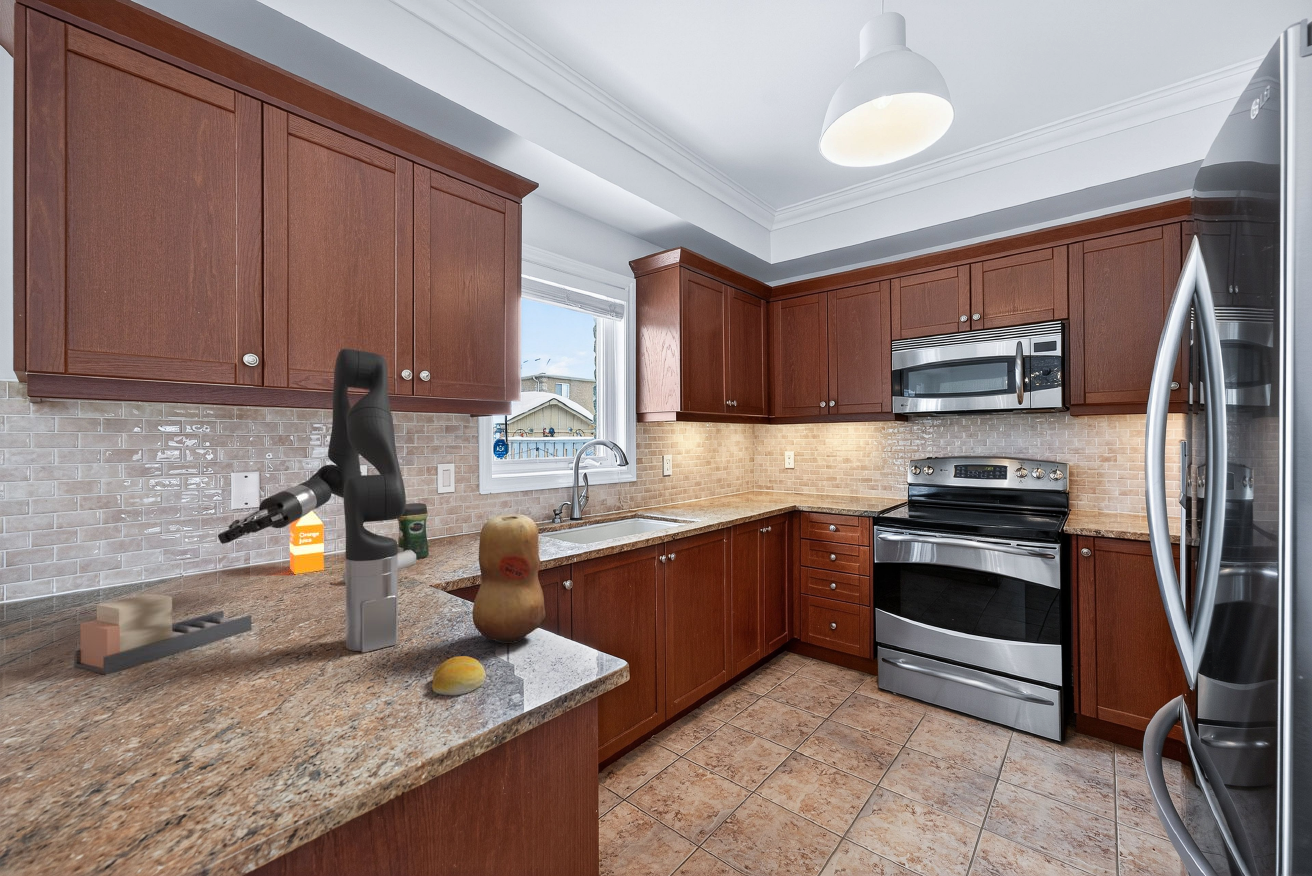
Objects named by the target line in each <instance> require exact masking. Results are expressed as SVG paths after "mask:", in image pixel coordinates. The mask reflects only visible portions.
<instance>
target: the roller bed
mask: <svg viewBox="0 0 1312 876" xmlns="http://www.w3.org/2000/svg"><path fill="white" fill-rule="evenodd" d="M252 630H253V629H252V615H251V614H249V615H245V616H241V617H237V618H234V619H232V618H226V617H224V610H217V611H214V612H210V613H207V614H204V615H200V616H196V617H192V618H188V619H185V620H180V621H177V622H174V623H173V622H172V637H171V638H168V639H164V640H161V641H157V642H154V643H150V644H147V645H143V646H140V647H136V648H133V649H129V650H126V651H122V652H119V653H115V654H112V655H108V656H105V657H103V668H99V667H95V666H92V665H88V664H84V663H81V647H80V648H76V649H74V650H73V667H75V668H77V669H78V668H79V669H81V668H82V670H85V671H89V672H93V673H96V674H100V673H101V675H104V674H108V675H110V673H111V674H113V672H114V673H117V672H120V671H124V670H126V668H127V669H130V668H132V667H136V665H137V666H139V664H140V665H142V663H143V664H146V663H149V662H152V661H155V660H159V659H162V658H165V657H169V656H171V655H174V654H175V655H176V654H177V653H181V652H185V651H187V650H191V649H195V648H197V647H201V646H204V645H207V644H209V643H213V642H217V641H220V640H224V639H225V638H229V637H232V636H235V635H239V634H242V633H245V632H248V631H252ZM123 669H124V670H123Z"/></svg>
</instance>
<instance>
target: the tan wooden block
mask: <svg viewBox="0 0 1312 876" xmlns="http://www.w3.org/2000/svg"><path fill="white" fill-rule="evenodd" d="M96 621H97V622H102V623H107V624H111V625H116V626H120V652H122V651H126V650H129V649H133V648H136V647H140V646H143V645H147V644H150V643H154V642H157V641H161V640H164V639H168V638H171V637H172V624H173V596H169V595H163V594H157V593H145V594H144V593H143V594H140V595H136V596H132V597H126V598H122V599H117V600H113V601H109V602H104V603H99V604H98V603H97V604H96Z"/></svg>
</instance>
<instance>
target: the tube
mask: <svg viewBox="0 0 1312 876" xmlns="http://www.w3.org/2000/svg"><path fill="white" fill-rule="evenodd" d="M416 563H417V559H416V554H415V553H414V552H413V551H412V550H405V551H404V552H401V553H398V571H400V570H399V569H401V570H404V569H406V567H407V568H409V566H410V567H413V566H415V564H416ZM403 568H404V569H403ZM345 574H346V570H345V572H344V573H343V574H342V579H343V581H344V583H345V584H346V581H345Z"/></svg>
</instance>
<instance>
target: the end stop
mask: <svg viewBox="0 0 1312 876" xmlns="http://www.w3.org/2000/svg"><path fill="white" fill-rule="evenodd" d="M80 648H81V663H84V664H88V665H92V666H95V667H99V668H103V657H105V656H108V655H112V654H115V653H119V652H120V626H116V625H111V624H107V623H102V622H97V620H90V621H86V622H82V623H80Z"/></svg>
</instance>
